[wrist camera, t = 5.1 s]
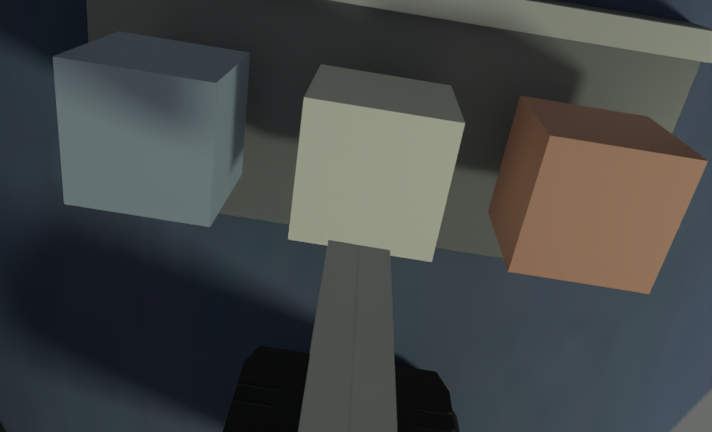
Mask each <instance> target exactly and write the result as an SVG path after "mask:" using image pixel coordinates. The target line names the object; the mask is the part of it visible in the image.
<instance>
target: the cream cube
mask: <svg viewBox="0 0 712 432" xmlns="http://www.w3.org/2000/svg"><path fill="white" fill-rule="evenodd" d="M464 126H465V121H464V119H463V116H462V113H461V110H460V108H459V105H458V102H457V100H456V97H455V94H454V92H453V89H452V86H451V85H446V84H439V83H433V82H427V81H421V80H415V79H409V78H403V77H396V76H390V75H384V74H378V73H372V72H366V71H360V70H353V69H347V68H341V67H335V66H329V65H323V64H321V65H320V67H319V69H318V71H317V73H316V75H315V77H314V78H313V80H312V82H311V84H310V86H309V88H308V90H307V92H306V94H305V96H304V100H303V109H302V118H301V127H300V136H299V145H298V154H297V163H296V171H295V180H294V189H293V198H292V207H291V216H290V225H289V234H288V239H289V240H295V241H301V242H308V243H314V244H320V245H327V246H328V240H332V241H338V242H344V243H350V244H356V245H362V246H368V247H374V248H380V249H386V250H390V256H396V257H403V258H409V259H415V260H422V261H428V262H432V259H433V255H434V251H435V247H436V243H437V239H438V235H439V230H440V226H441V222H442V218H443V214H444V210H445V205H446V201H447V197H448V193H449V189H450V185H451V180H452V176H453V172H454V168H455V164H456V160H457V155H458V151H459V147H460V143H461V139H462V135H463V131H464Z"/></svg>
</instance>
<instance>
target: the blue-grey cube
mask: <svg viewBox="0 0 712 432" xmlns="http://www.w3.org/2000/svg"><path fill="white" fill-rule="evenodd" d="M249 64H250V53H249V52H243V51H237V50H231V49H225V48H218V47H212V46H206V45H200V44H194V43H188V42H182V41H175V40H169V39H163V38H157V37H151V36H145V35H139V34H132V33H126V32H120V31H118V32H115V33H113V34H110V35H107V36H105V37H102V38H99V39H97V40H94V41H92V42H89V43H86V44H84V45H81V46H79V47H76V48H73V49H71V50H68V51H66V52H63V53H60V54H58V55H55V56H53V68H54V80H55V93H56V106H57V119H58V132H59V144H60V157H61V170H62V183H63V195H64V204H67V205H73V206H80V207H86V208H92V209H99V210H105V211H111V212H118V213H124V214H130V215H137V216H143V217H149V218H156V219H162V220H168V221H175V222H181V223H187V224H194V225H200V226H206V227H210V226H211V224H212V223H213V221H214V219H215V218H216V216H217V215H218V213H219V211H220V210H221V208H222V206H223V205H224V203H225V201H226V200H227V198H228V196H229V195H230V193H231V191H232V190H233V188H234V186H235V185H236V183H237V182H238V180H239V178H240V177H241V175H242V166H243V152H244V137H245V122H246V108H247V93H248V79H249Z"/></svg>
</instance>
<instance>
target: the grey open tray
mask: <svg viewBox="0 0 712 432" xmlns="http://www.w3.org/2000/svg"><path fill="white" fill-rule="evenodd" d="M86 5H87V25H88V43H89V42H92V41H94V40H97V39H99V38H102V37H105V36H107V35H110V34H113V33H115V32H118V31H120V32H126V33H132V34H139V35H145V36H151V37H157V38H163V39H169V40H175V41H182V42H188V43H194V44H200V45H206V46H212V47H218V48H225V49H231V50H237V51H243V52H249V53H250V64H249V79H248V93H247V108H246V122H245V137H244V152H243V166H242V175H241V177H240V178H239V180H238V182H237V183H236V185H235V186H234V188H233V190H232V191H231V193H230V195H229V196H228V198H227V200H226V201H225V203H224V205H223V206H222V208H221V210H220V211H219V214H226V215H232V216H238V217H245V218H251V219H257V220H264V221H270V222H276V223H283V224H289V225H290V216H291V207H292V198H293V189H294V180H295V171H296V163H297V154H298V145H299V136H300V127H301V118H302V109H303V100H304V96H305V94H306V92H307V90H308V88H309V86H310V84H311V82H312V80H313V78H314V77H315V75H316V73H317V71H318V69H319V67H320V65H321V64H323V65H329V66H335V67H341V68H347V69H353V70H360V71H366V72H372V73H378V74H384V75H390V76H396V77H403V78H409V79H415V80H421V81H427V82H433V83H439V84H446V85H451V86H452V89H453V92H454V94H455V97H456V100H457V102H458V105H459V108H460V110H461V113H462V116H463V119H464V121H465V126H464V131H463V135H462V139H461V143H460V147H459V151H458V155H457V160H456V164H455V168H454V172H453V176H452V180H451V185H450V189H449V193H448V197H447V201H446V205H445V210H444V214H443V218H442V222H441V226H440V230H439V235H438V239H437V243H436V247H435V248H441V249H447V250H453V251H460V252H466V253H472V254H478V255H485V256H491V257H497V258H503V255H502V252H501V249H500V246H499V243H498V240H497V237H496V234H495V231H494V228H493V225H492V222H491V219H490V216H489V213H488V210H489V206H490V203H491V199H492V195H493V192H494V188H495V185H496V181H497V177H498V174H499V170H500V167H501V163H502V159H503V156H504V152H505V149H506V145H507V141H508V138H509V134H510V131H511V127H512V123H513V120H514V116H515V113H516V109H517V105H518V102H519V98H520V96H526V97H532V98H538V99H544V100H550V101H556V102H562V103H568V104H575V105H581V106H587V107H593V108H599V109H605V110H611V111H618V112H624V113H630V114H636V115H642V116H648V117H650V118H651V119H652V120H654V121H655V122H656V123H658V124H659V125H660V126H662V127H663V128H664V129H666V130H667V131H668V132H670V133H671V134H672V132H673V130H674V128H675V125H676V123H677V120H678V118H679V115H680V113H681V110H682V108H683V105H684V103H685V100H686V98H687V95H688V93H689V91H690V88H691V86H692V83H693V81H694V78H695V76H696V73H697V71H698V68H699V66H700V63H701V62H707V63H712V29H710V28H707V27H704V26H700V25H697V24H694V23H690V22H684V21H678V20H672V19H666V18H660V17H654V16H648V15H642V14H636V13H630V12H624V11H618V10H612V9H606V8H600V7H594V6H588V5H582V4H576V3H570V2H564V1H558V0H86Z"/></svg>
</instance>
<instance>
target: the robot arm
mask: <svg viewBox="0 0 712 432" xmlns="http://www.w3.org/2000/svg"><path fill="white" fill-rule="evenodd" d="M0 432H5V431H4V429H3V428H2V426H1V425H0ZM223 432H455V425H454V419H453V417H452V406H451V400H450V393H449V391H448V389H447V388H446V386H445V385H444V383H443V381H442V380H441V378H440V377H439V375H438V374H437V372H434V371H428V370H421V369H415V368H408V367H402V366H396V365H395V360H394V336H393V311H392V287H391V262H390V250H386V249H380V248H374V247H368V246H362V245H356V244H350V243H344V242H338V241H332V240H328V246H327V251H326V257H325V263H324V269H323V275H322V281H321V287H320V292H319V298H318V304H317V310H316V316H315V322H314V327H313V333H312V340H311V346H310V352H309V353H302V352H296V351H289V350H283V349H277V348H270V347H264V346H260V347H259V348H258V349H257V350H256V351H255V352H254V353H253V354H252V355H251V356H250V357H249V358H248V359H247V360H246V361H244V365H243V368H242V371H241V374H240V378H239V381H238V385H237V387H236V391H235V394H234V397H233V402H232V404H231V407H230V410H229V413H228V417H227V420H226V423H225V426H224V430H223Z"/></svg>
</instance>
